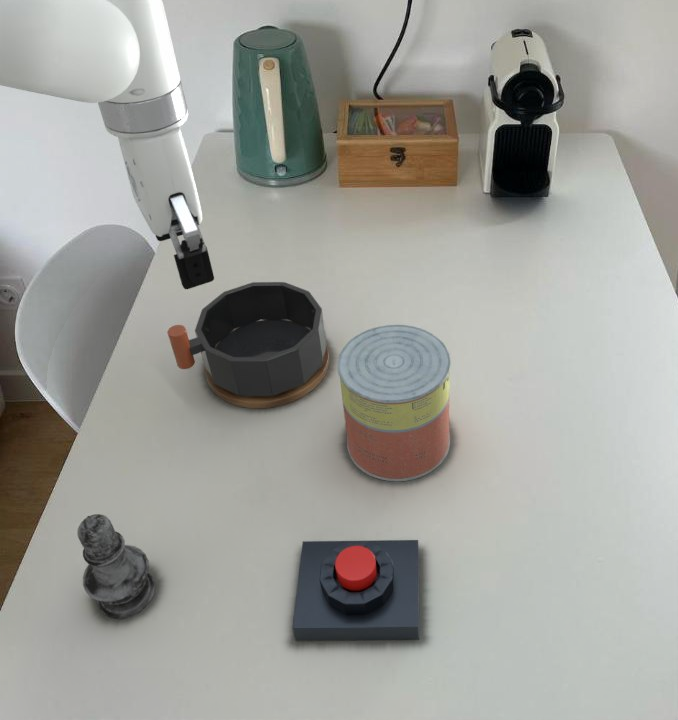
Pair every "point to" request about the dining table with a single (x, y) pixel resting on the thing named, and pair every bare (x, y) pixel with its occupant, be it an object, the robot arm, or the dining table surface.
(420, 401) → the canned food
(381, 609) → the button box
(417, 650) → the dining table surface
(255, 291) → the saucepan
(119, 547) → the grey chess pawn
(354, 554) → the button
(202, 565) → the dining table surface
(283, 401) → the trivet
